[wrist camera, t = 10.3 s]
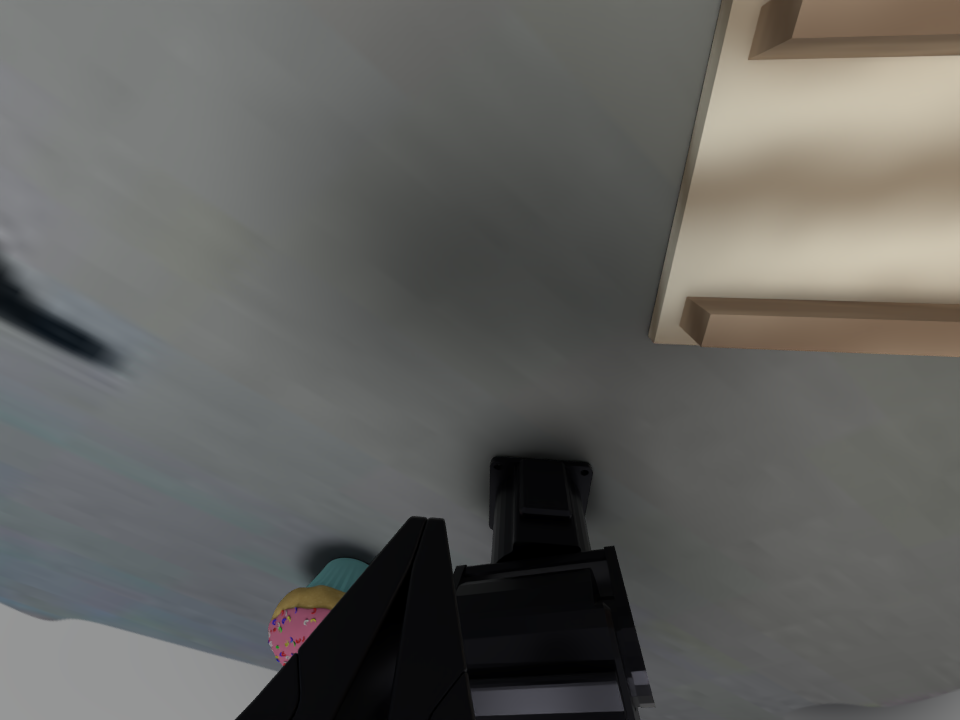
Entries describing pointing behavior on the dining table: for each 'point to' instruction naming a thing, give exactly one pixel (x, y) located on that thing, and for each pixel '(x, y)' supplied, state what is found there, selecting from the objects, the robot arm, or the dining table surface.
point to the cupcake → (310, 606)
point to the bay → (822, 183)
